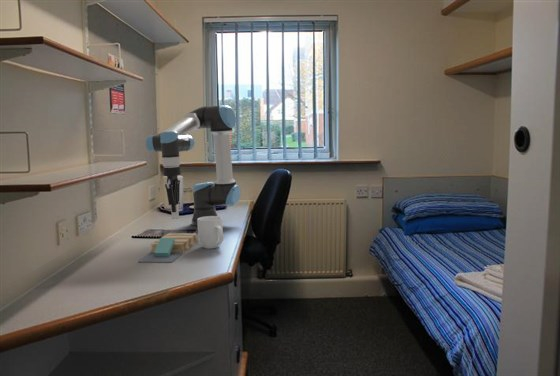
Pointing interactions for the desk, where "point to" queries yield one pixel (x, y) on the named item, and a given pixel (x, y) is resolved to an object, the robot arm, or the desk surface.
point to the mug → (210, 231)
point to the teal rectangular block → (164, 247)
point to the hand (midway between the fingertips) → (175, 218)
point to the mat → (161, 258)
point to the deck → (179, 242)
